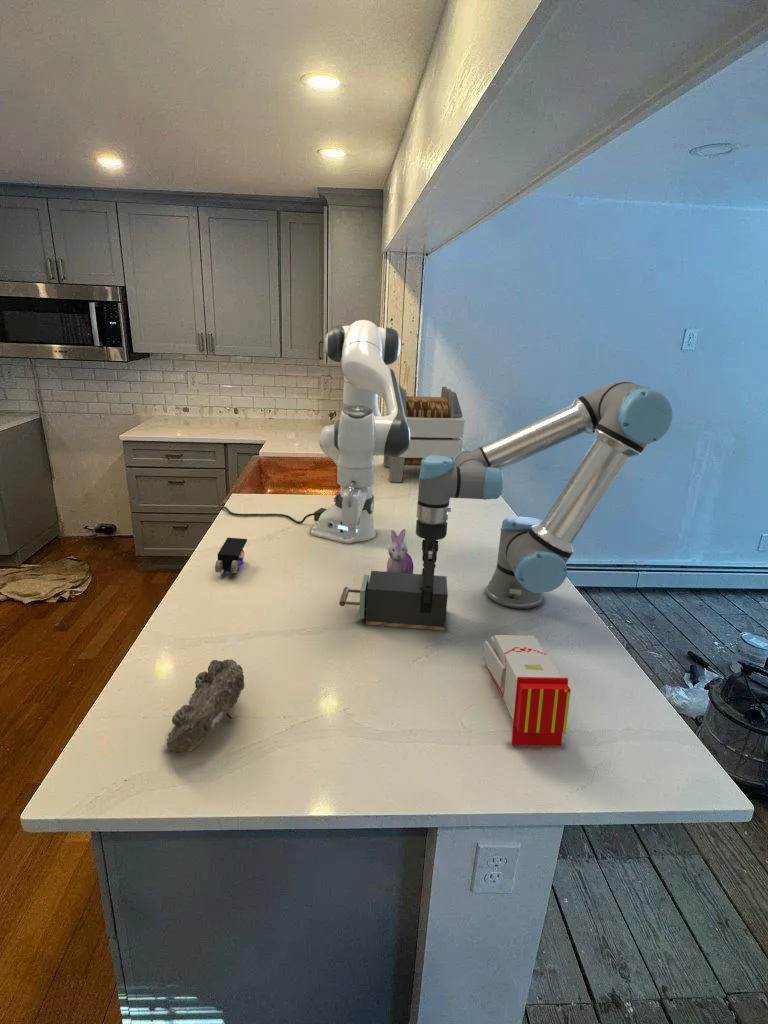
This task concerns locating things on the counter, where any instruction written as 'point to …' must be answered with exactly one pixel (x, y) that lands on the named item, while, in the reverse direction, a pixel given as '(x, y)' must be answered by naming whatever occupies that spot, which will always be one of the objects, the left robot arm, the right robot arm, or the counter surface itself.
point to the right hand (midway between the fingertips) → (425, 601)
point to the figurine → (399, 555)
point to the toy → (529, 689)
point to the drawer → (362, 597)
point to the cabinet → (404, 601)
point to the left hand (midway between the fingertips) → (354, 529)
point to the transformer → (429, 430)
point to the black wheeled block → (230, 556)
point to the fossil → (206, 705)
